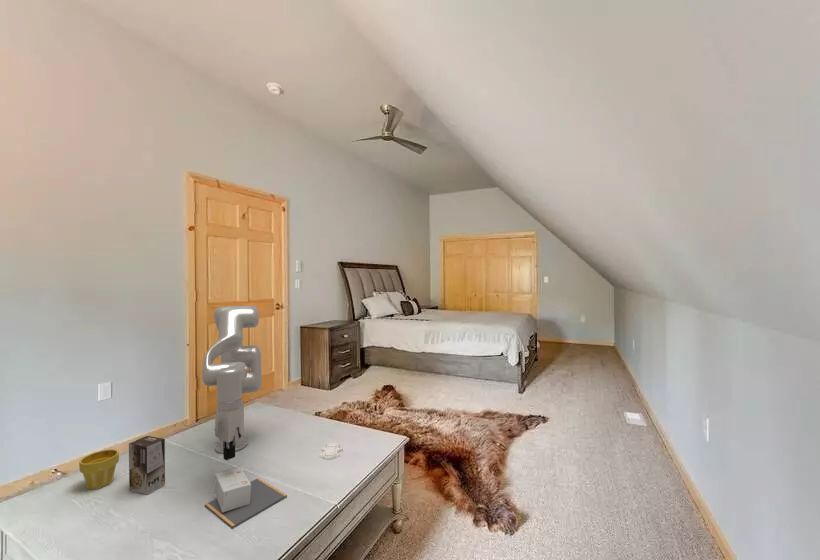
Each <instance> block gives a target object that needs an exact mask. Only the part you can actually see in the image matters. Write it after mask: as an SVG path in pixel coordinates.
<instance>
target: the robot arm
mask: <svg viewBox="0 0 820 560" xmlns="http://www.w3.org/2000/svg"><path fill="white" fill-rule="evenodd" d="M213 319H214V320H213V321H214V323H215V326H216V328H217V330H218V337H217V338H218V340H217V341H216V342H214V343H213V344H212V345H211V346H210V347H209V349H208V350H207V351H206V353H205V354H204V357H203V361H202V370H201V372H202V376H201V377H202V378H201V379H202V383H203V385H205V386H208V387H211V386H212V387H214V386H216V413H215V418H214V420H215V422H214V423H215V425H214V436H215V437H216V438H218V442H217V443H216V444H215V446H214V451H215V452H216V453H219V454H223V455H222V456H223V460H225V461H229V460H231V459H234V458H236V452H238V451H240V450H242V449H244V448H245V447H247V445H248V443H249V440H248V438H246V437H245V420H244V419H245V406H244V405H245V403H244V402H243V400H242V399H243V397H242V395H244V394H251V393H256V392H259V391H260V390H261V388H262V385H263V384H262V382H263V378H262V376H263V373H262V371H263V370H262V351H261V349H260V347H259V346H258V345H252V344H251V345H244V344H243V341H244V333H243V332H244V330H243V329H249V328H256V327H258V325H259V322H260V313H259V310H258V307H257V306H255V305H227V306H219V307H217V308H216V309H215V310H214V312H213ZM218 357H220V363H213V362H214V361H215V360H216V359H217V358H218ZM248 368H249V370H248Z"/></svg>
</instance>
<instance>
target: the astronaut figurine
mask: <svg viewBox="0 0 820 560" xmlns="http://www.w3.org/2000/svg"><path fill="white" fill-rule="evenodd" d="M343 451H344V449H343V447H340V443H339V442H337V443H336V442H327V443H326V444H325V447H322V448H321V453H320V454H319V458H321V459H322V460H326V461H331V460H332V461H333V460H335V459H338V458H340V455H341V454H340V453H341V452H343Z"/></svg>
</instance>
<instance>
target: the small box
mask: <svg viewBox="0 0 820 560" xmlns="http://www.w3.org/2000/svg"><path fill="white" fill-rule="evenodd" d="M250 482H251V481H250V480H249V478H248V476H247V474H246V473H245V471H244V469H243V468H242V467H237V468H233V469H229V470H226V471H222V472H218V473H215V481H214V496H215V499H217V501H218V503H219V506H220V508H221V511H222V513H223V512H226V511H229V510H233V509H236V508H239V507H242V506H245V505H248V504H250V496H251V483H250Z"/></svg>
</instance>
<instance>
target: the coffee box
mask: <svg viewBox="0 0 820 560" xmlns="http://www.w3.org/2000/svg"><path fill="white" fill-rule="evenodd" d="M165 440H166V439H165V438H162V437H156V436H153V435H152V436H151V435H145V436H143V437H140V438H138V439H136V440H134V441H131V442H129V443H128V475H129V477H128V482H129V483H128V484H129V486H128V489H129V490H128V491H132V492H136V493H139V494H142V495H143V494H144V495H147V496H149V494H152V493H154V492H155V491H157V490H159V489H160V488H163V487H165V485H166V458H165V457H166V456H165V455H166V446H165V444H166V441H165Z"/></svg>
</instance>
